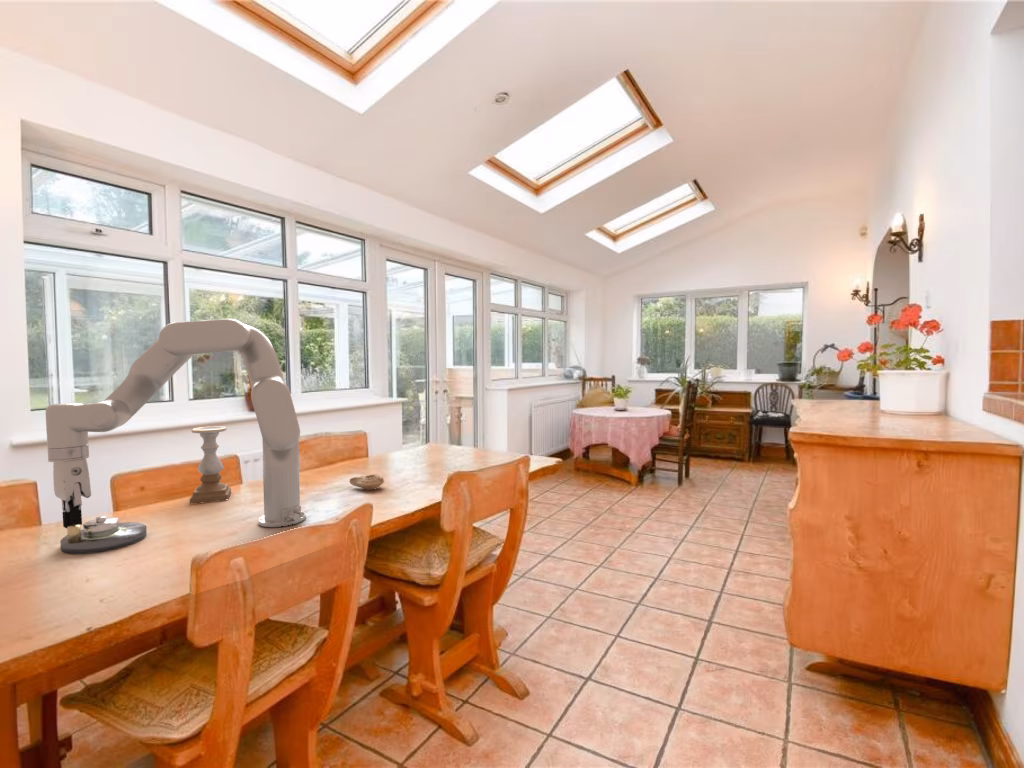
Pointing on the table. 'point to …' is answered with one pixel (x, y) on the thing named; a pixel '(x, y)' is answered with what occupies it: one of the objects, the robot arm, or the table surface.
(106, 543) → the turntable
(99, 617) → the table surface
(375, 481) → the pottery oil lamp
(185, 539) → the table surface
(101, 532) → the cover
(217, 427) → the candle holder
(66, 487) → the robot arm
